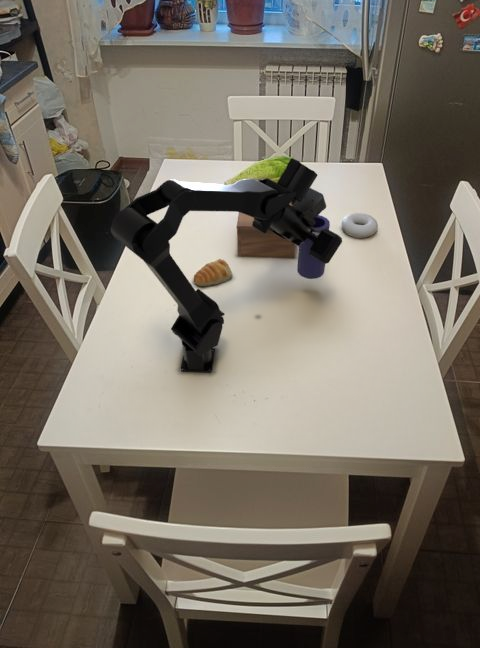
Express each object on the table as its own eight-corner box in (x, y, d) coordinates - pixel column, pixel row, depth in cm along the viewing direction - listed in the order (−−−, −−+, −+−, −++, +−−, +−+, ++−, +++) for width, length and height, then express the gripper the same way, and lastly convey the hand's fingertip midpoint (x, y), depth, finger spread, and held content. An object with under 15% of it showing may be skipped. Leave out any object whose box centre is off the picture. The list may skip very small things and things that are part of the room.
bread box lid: (296, 230, 126) (297, 215, 123) (236, 228, 127) (236, 213, 124) (296, 200, 137) (296, 186, 134) (241, 199, 138) (240, 184, 135)
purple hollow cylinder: (324, 279, 115) (330, 230, 107) (297, 278, 116) (300, 229, 107) (323, 263, 120) (328, 215, 111) (297, 262, 120) (300, 214, 112)
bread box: (294, 258, 133) (296, 228, 127) (237, 256, 133) (237, 227, 127) (294, 229, 143) (296, 201, 137) (242, 227, 144) (241, 199, 138)
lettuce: (217, 170, 158) (222, 162, 146) (290, 155, 163) (302, 146, 151) (225, 208, 160) (232, 203, 148) (298, 193, 165) (310, 187, 152)
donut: (348, 218, 148) (335, 234, 141) (349, 207, 146) (337, 223, 139) (381, 226, 145) (370, 243, 138) (383, 216, 142) (372, 232, 136)
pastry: (203, 292, 122) (202, 280, 120) (188, 279, 126) (186, 267, 124) (234, 278, 127) (234, 265, 124) (219, 265, 130) (218, 253, 128)
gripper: (341, 201, 95) (369, 231, 108) (273, 167, 105) (306, 198, 118) (309, 252, 96) (341, 275, 109) (245, 213, 107) (281, 239, 120)
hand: (317, 244), depth 114 cm, fingers closed on purple hollow cylinder, 6 cm apart
